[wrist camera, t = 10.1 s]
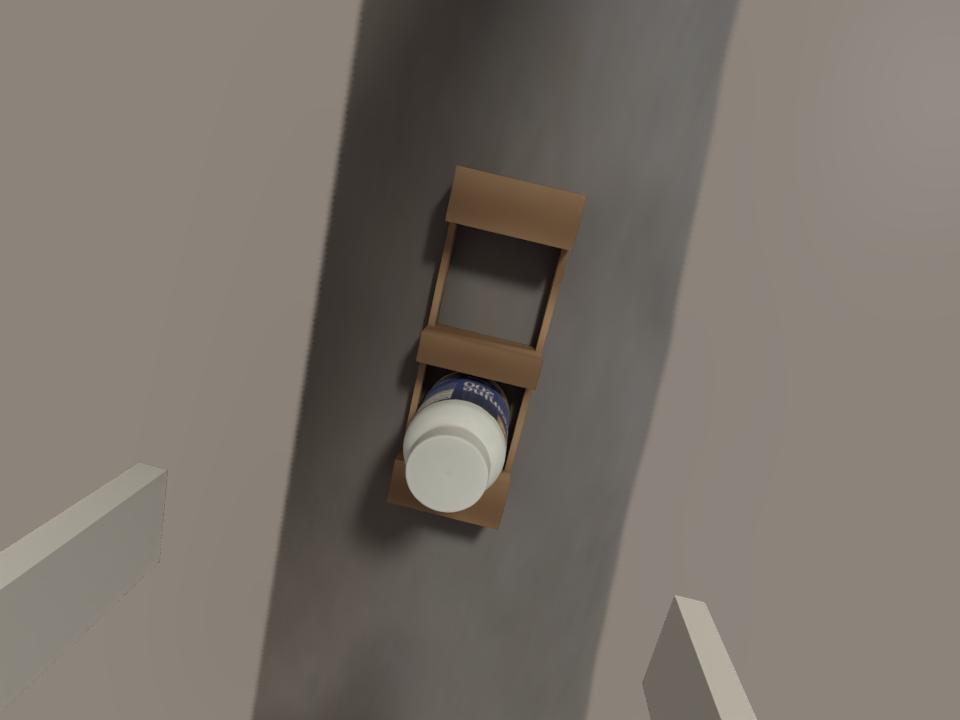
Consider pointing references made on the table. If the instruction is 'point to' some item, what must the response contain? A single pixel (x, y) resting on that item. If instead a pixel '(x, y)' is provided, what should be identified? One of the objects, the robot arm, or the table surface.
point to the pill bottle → (456, 442)
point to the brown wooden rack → (514, 215)
